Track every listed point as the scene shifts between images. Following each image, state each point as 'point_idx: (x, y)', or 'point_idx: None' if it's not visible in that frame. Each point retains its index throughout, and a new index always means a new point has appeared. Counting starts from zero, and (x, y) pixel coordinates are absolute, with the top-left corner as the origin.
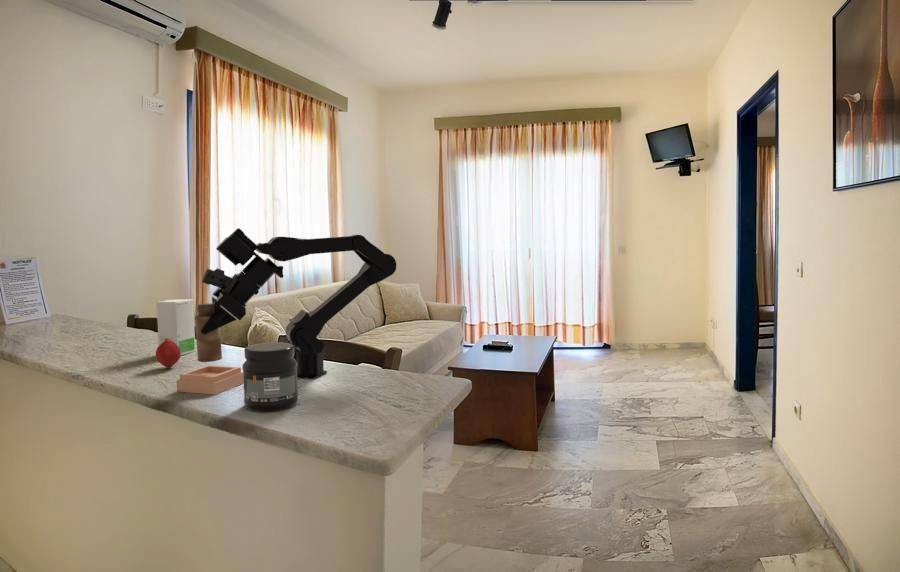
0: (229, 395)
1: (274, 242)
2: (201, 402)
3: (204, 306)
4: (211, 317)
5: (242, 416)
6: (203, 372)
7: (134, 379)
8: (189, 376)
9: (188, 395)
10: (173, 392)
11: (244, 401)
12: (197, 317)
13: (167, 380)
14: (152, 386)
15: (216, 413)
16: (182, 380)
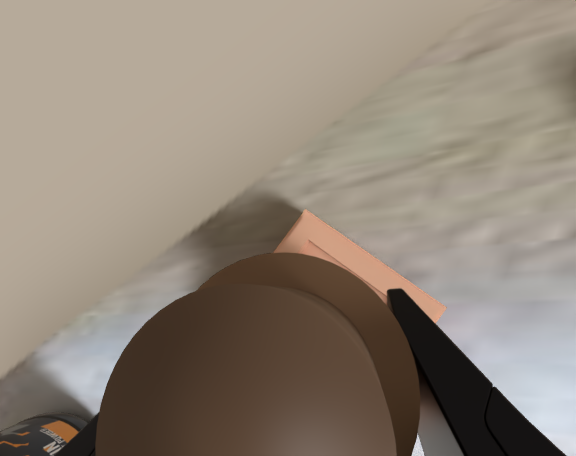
0: None
1: None
2: (165, 295)
3: (109, 398)
4: (92, 430)
5: (10, 397)
6: (380, 292)
7: (522, 60)
8: (280, 250)
9: (249, 255)
10: (299, 209)
11: (38, 415)
12: (207, 283)
13: (471, 166)
14: (398, 136)
15: (59, 335)
16: (290, 229)
